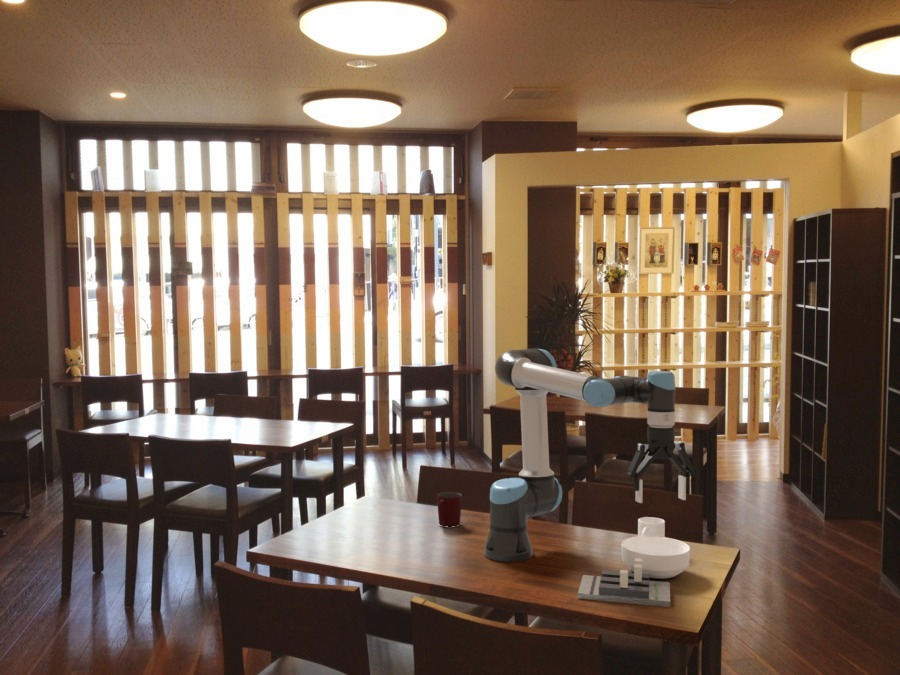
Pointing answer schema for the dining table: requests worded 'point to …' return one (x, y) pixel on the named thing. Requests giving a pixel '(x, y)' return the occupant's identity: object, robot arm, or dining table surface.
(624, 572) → the breaker near
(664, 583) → the panel
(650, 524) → the mug
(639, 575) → the block
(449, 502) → the mug
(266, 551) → the dining table surface
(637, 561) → the breaker far
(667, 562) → the bowl
